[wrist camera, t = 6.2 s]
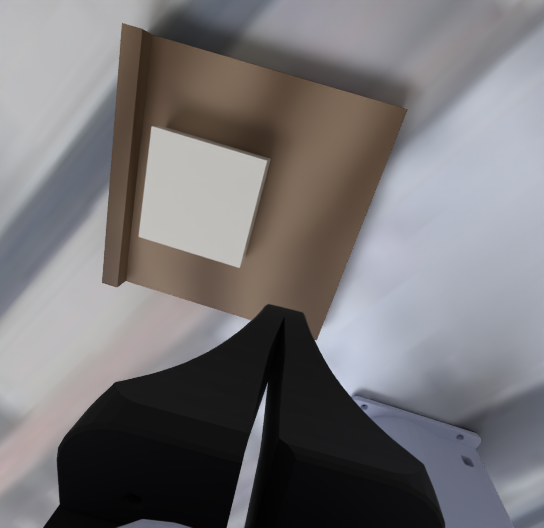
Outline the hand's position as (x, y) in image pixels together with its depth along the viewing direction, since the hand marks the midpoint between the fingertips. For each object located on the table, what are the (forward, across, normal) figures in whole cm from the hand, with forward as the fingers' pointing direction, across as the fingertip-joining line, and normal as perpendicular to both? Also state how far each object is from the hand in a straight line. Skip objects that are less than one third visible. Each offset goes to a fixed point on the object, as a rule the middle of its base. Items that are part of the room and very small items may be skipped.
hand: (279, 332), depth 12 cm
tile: (+8, +3, -2) cm, 8 cm away
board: (+10, +4, -2) cm, 11 cm away
